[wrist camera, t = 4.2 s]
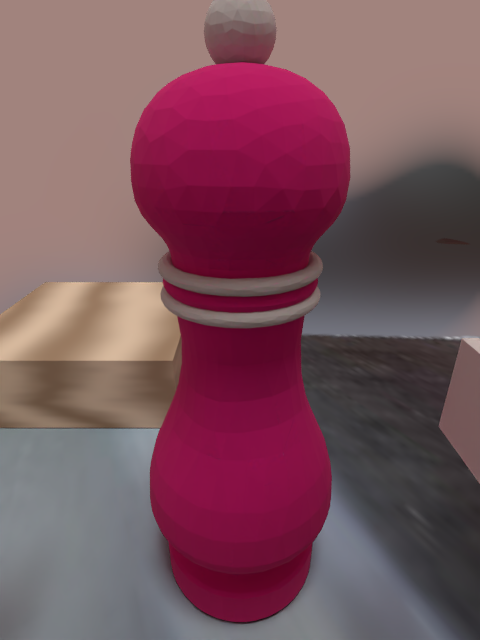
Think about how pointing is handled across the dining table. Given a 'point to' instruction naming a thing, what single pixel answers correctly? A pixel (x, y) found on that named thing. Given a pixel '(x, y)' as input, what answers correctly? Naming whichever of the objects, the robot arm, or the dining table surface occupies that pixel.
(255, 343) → the pepper mill
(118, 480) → the dining table surface
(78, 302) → the birch block
